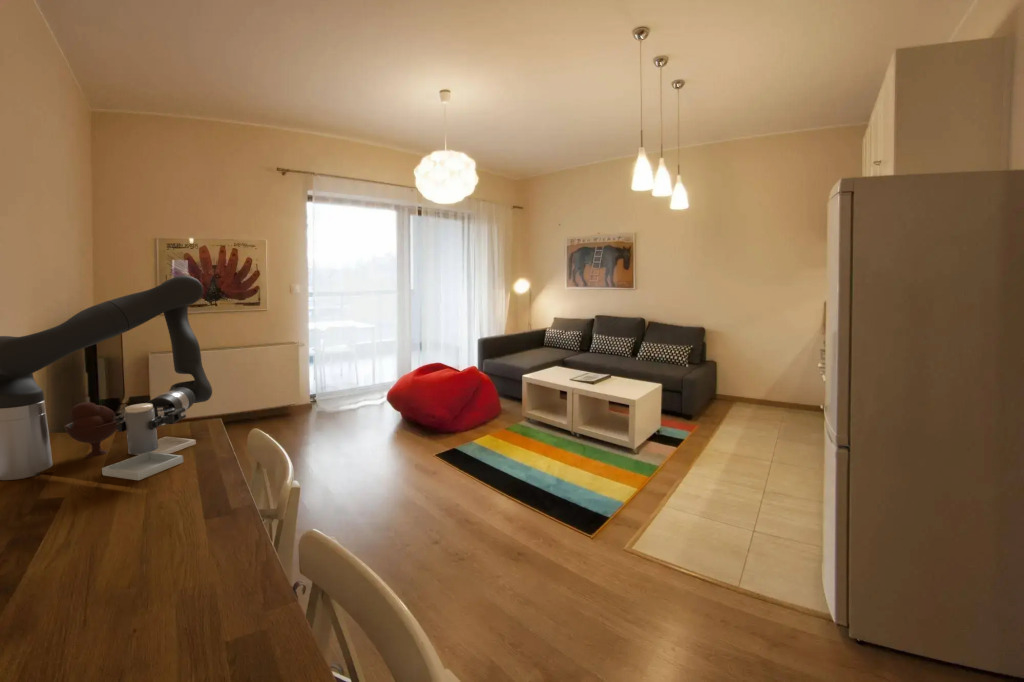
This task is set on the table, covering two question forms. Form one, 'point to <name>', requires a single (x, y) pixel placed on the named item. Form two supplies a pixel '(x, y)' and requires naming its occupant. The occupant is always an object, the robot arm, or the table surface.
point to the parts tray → (172, 444)
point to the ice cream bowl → (92, 425)
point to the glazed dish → (142, 465)
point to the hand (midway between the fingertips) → (135, 426)
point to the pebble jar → (140, 428)
